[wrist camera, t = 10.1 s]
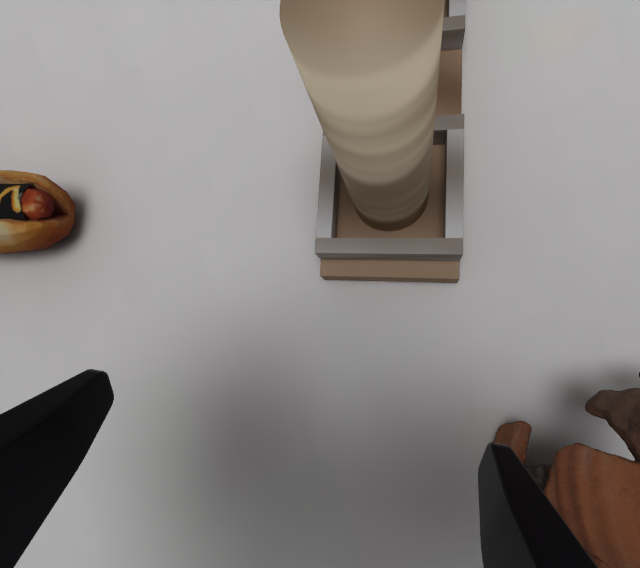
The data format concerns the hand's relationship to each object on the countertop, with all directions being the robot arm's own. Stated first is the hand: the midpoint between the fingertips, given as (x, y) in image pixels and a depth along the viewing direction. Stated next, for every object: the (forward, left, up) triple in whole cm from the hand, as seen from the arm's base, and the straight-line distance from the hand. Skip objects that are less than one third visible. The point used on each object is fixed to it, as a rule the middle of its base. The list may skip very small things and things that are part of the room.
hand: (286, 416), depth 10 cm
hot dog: (+19, +19, -14) cm, 30 cm away
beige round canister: (+9, -5, -12) cm, 16 cm away
